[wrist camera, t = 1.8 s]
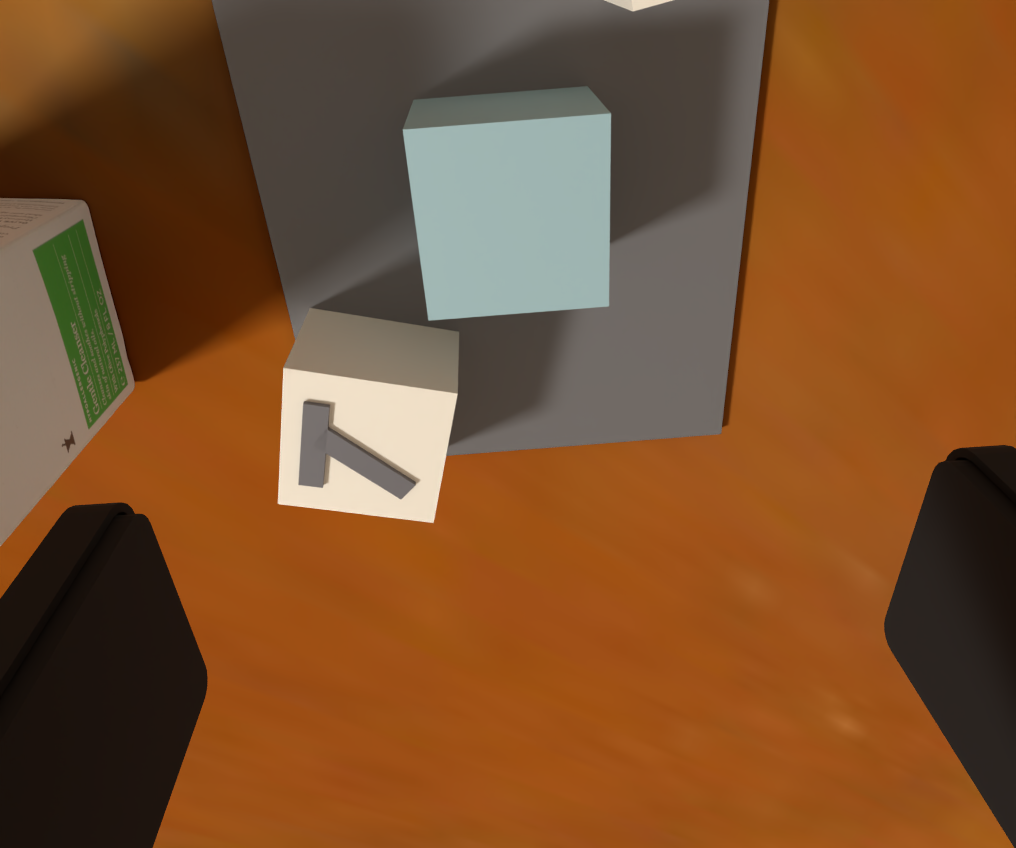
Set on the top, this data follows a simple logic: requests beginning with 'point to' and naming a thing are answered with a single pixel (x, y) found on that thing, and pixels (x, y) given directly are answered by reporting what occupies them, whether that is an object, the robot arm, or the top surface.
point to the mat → (633, 192)
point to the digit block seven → (367, 415)
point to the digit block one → (636, 3)
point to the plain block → (511, 201)
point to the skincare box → (52, 348)
